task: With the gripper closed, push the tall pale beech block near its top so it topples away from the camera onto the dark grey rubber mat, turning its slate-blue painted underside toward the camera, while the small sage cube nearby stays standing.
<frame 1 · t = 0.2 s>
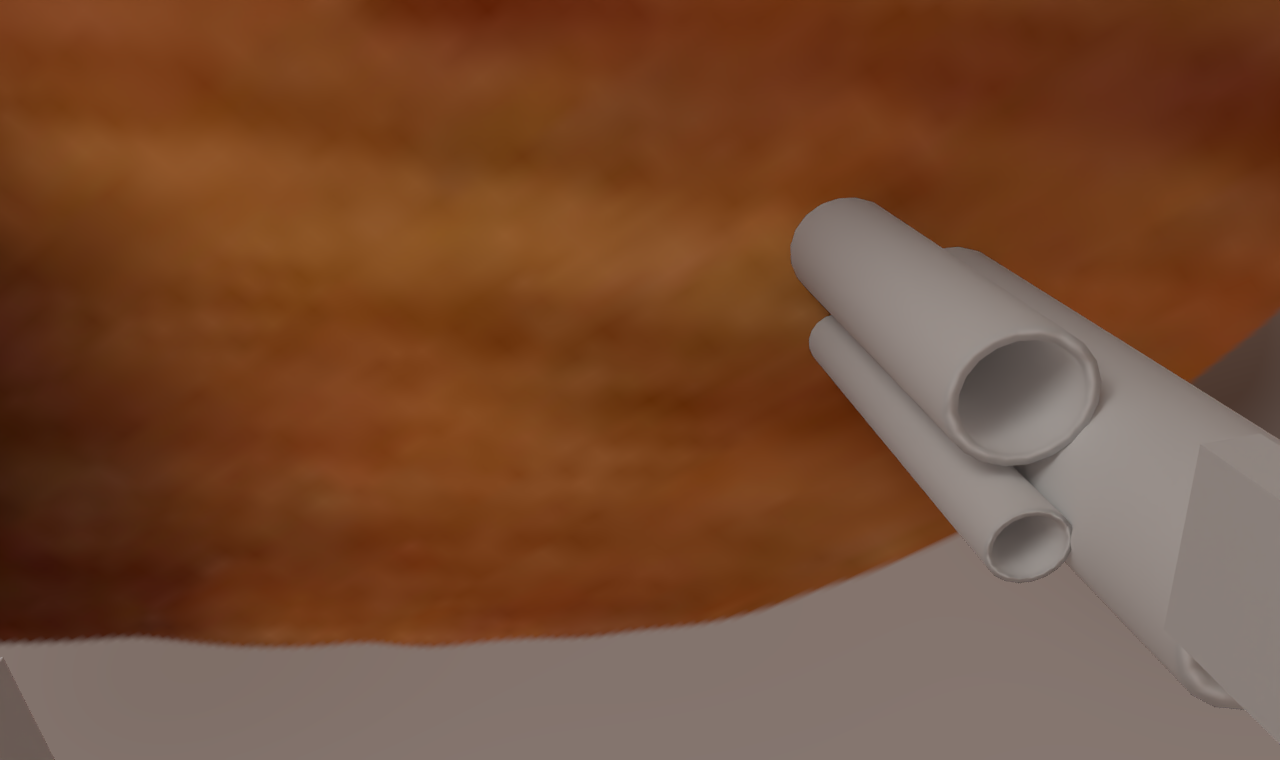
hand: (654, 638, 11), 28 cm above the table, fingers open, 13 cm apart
vase: (890, 303, 41), on the table
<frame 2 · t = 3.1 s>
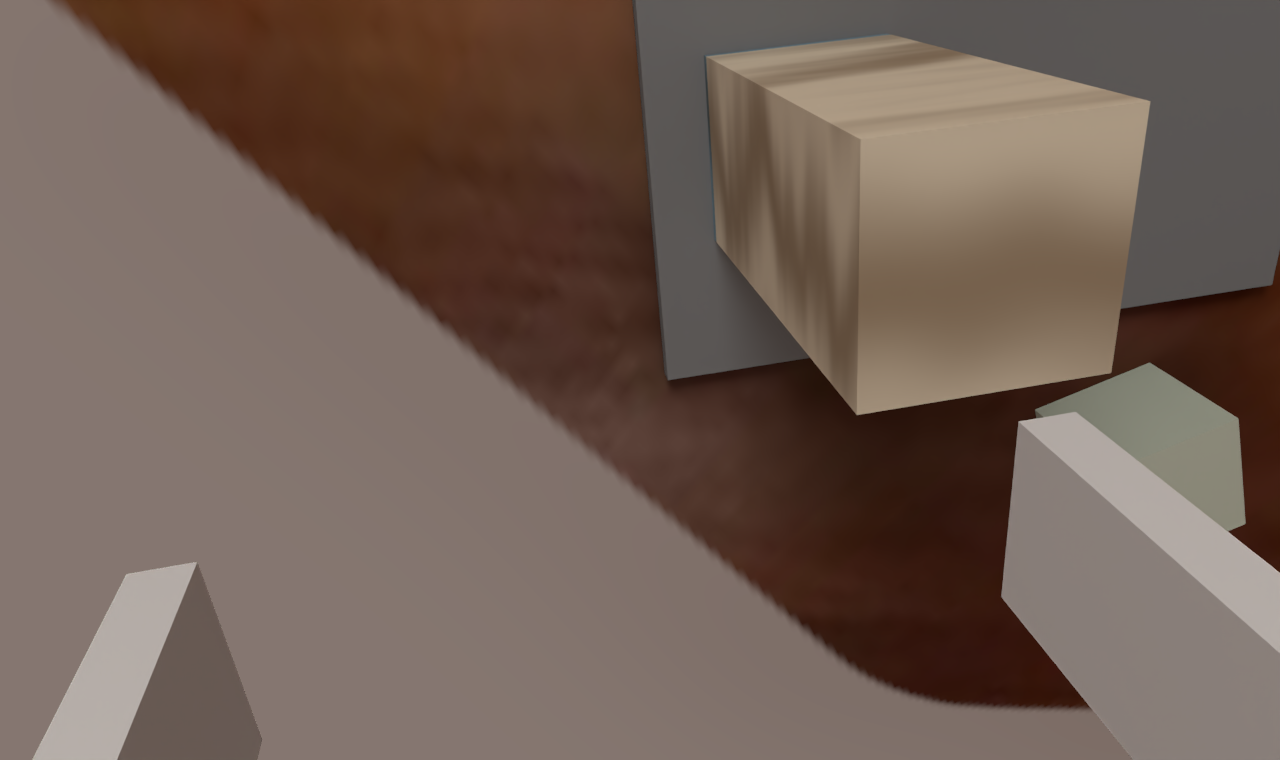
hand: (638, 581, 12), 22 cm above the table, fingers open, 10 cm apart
rubber mat: (989, 110, 33), on the table
beech block: (798, 139, 31), point 1 cm above the table, touching rubber mat
sage cube: (1098, 434, 40), on the table
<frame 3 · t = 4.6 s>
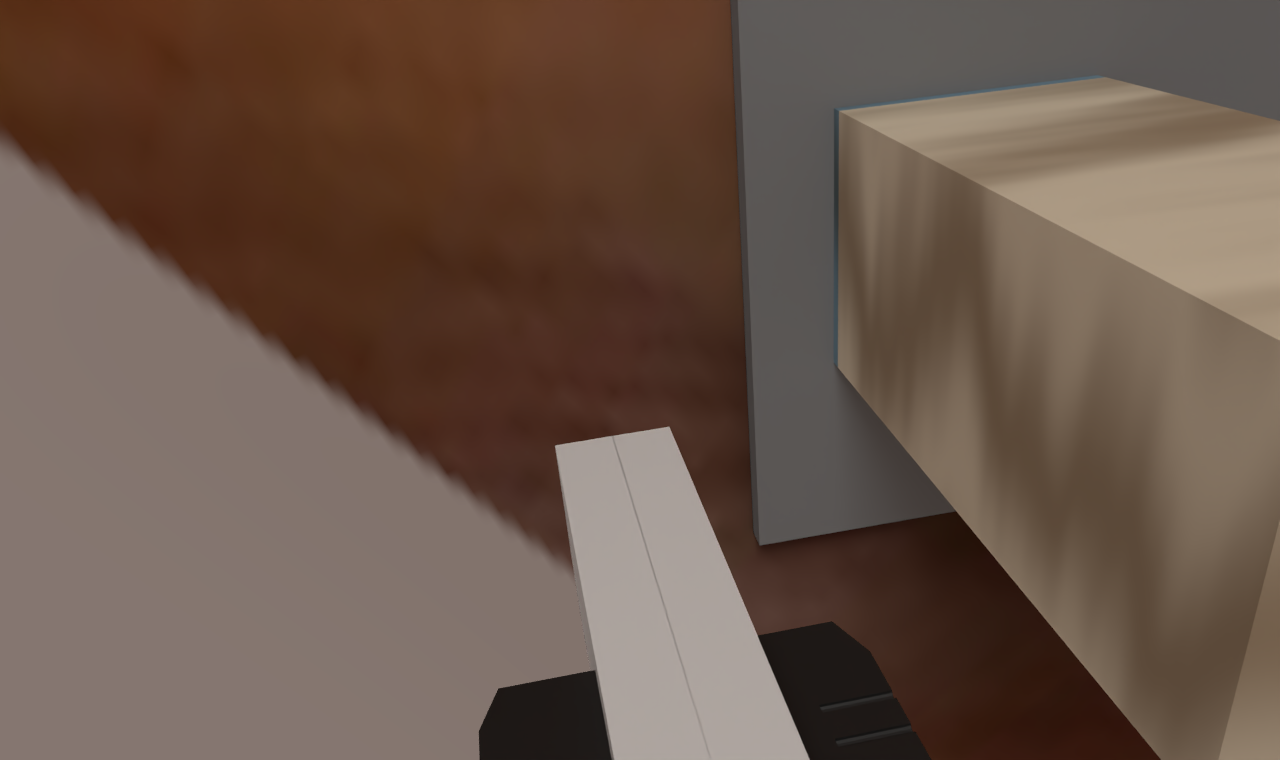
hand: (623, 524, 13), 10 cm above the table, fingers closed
rubber mat: (1221, 179, 23), on the table
beech block: (959, 225, 22), point 1 cm above the table, touching rubber mat
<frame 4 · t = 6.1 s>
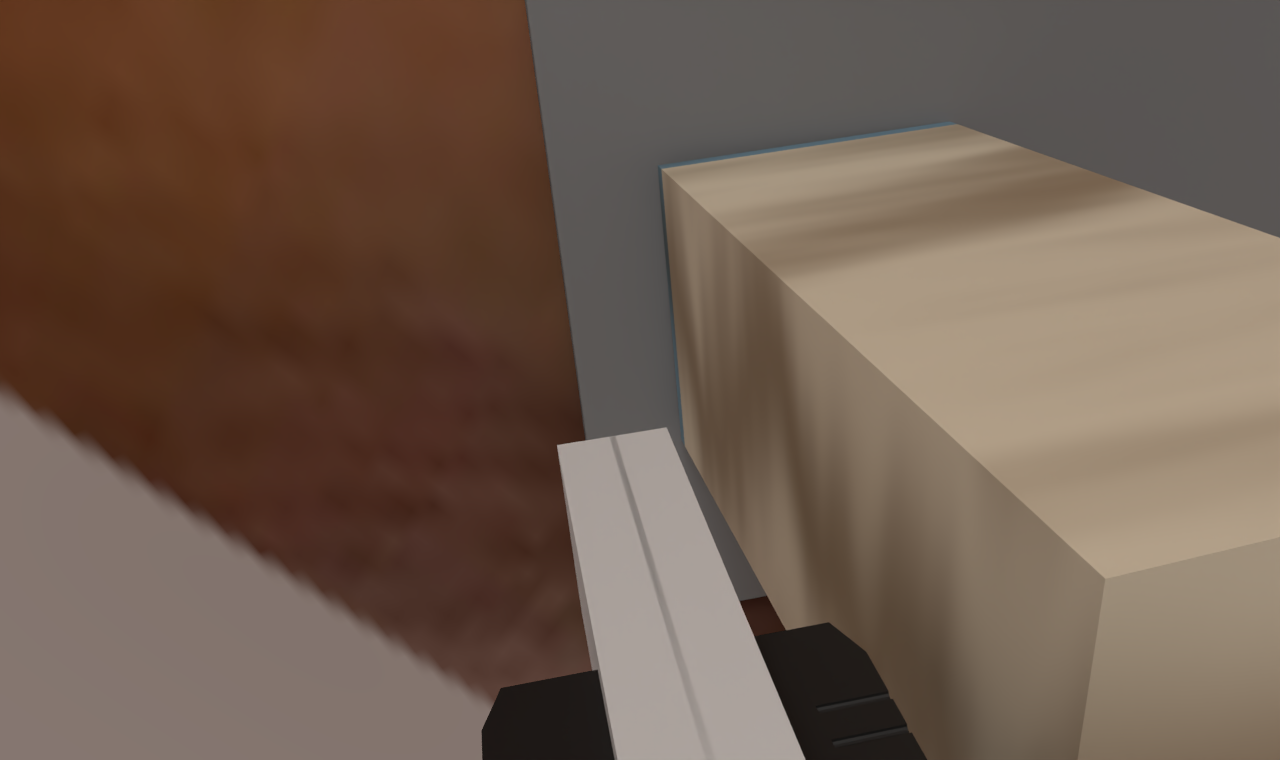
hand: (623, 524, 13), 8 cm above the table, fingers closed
rubber mat: (1101, 229, 21), on the table
beech block: (809, 287, 20), point 1 cm above the table, touching gripper, rubber mat
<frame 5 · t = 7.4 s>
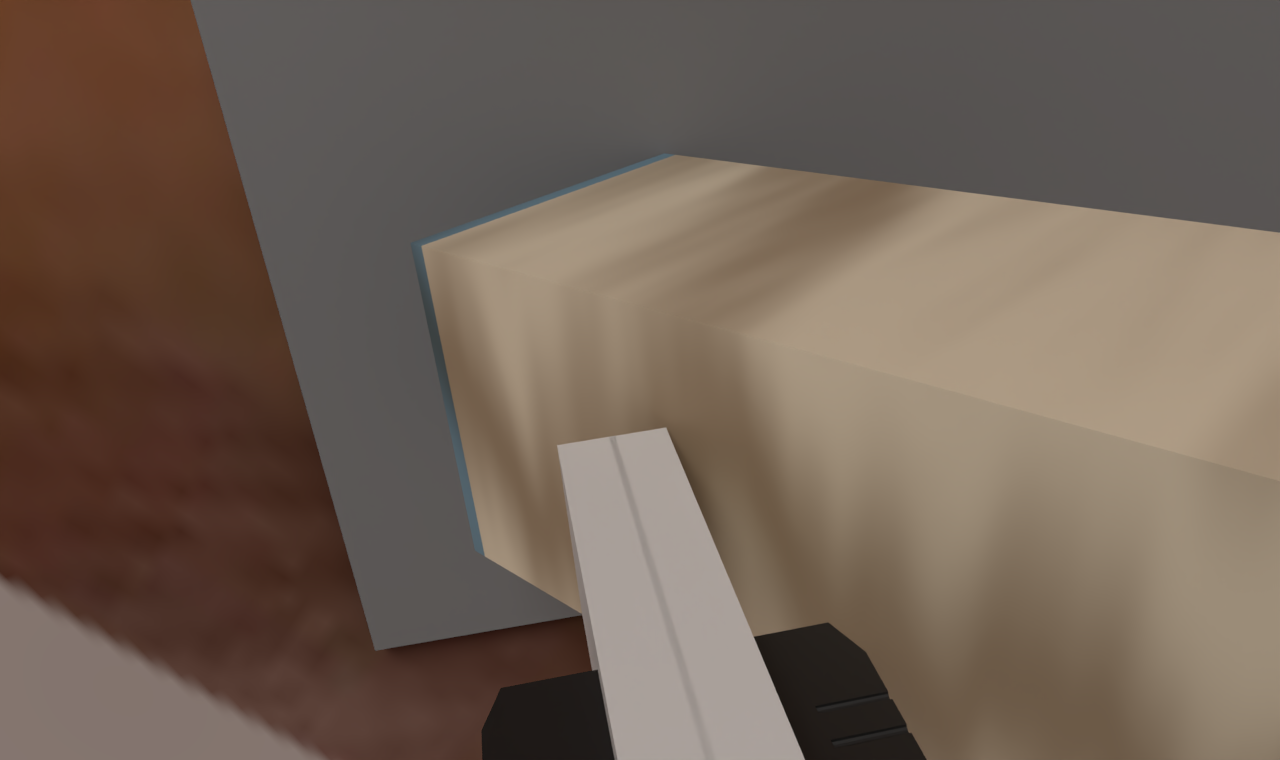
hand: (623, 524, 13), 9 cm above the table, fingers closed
rubber mat: (849, 259, 21), on the table
beech block: (572, 346, 18), point 2 cm above the table, tilted 38°, touching gripper, rubber mat
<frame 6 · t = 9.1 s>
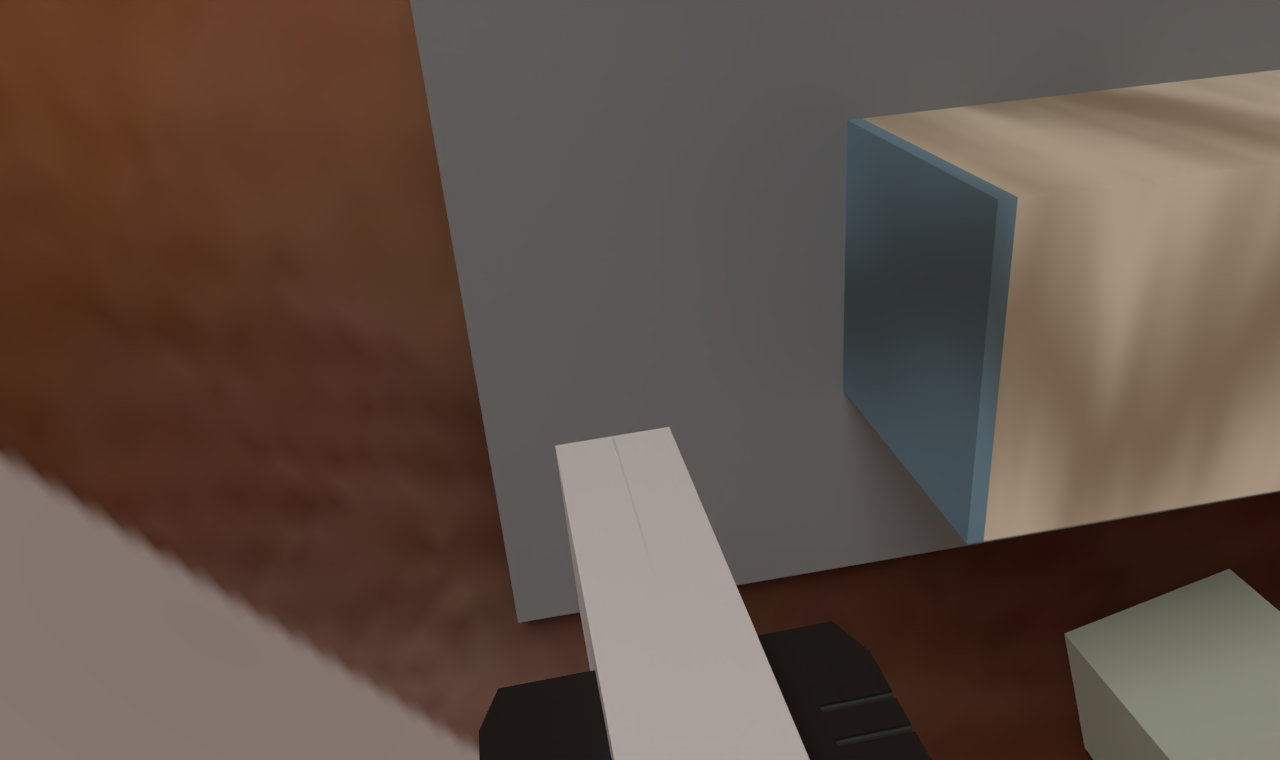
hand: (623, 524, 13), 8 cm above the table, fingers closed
rubber mat: (1007, 231, 21), on the table
beech block: (902, 316, 18), point 4 cm above the table, tilted 90°, touching rubber mat
sage cube: (1152, 660, 28), on the table
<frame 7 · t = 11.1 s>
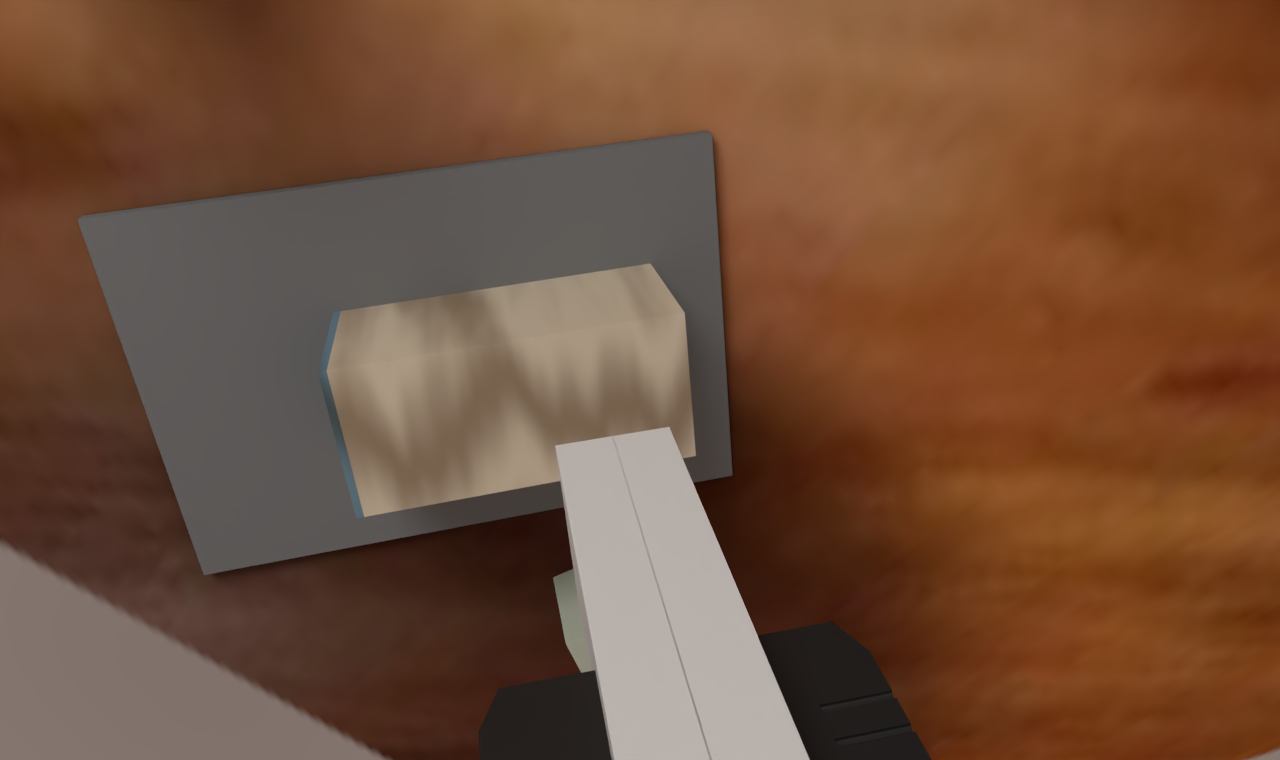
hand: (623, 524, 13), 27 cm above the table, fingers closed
rubber mat: (446, 358, 41), on the table
beech block: (344, 411, 37), point 4 cm above the table, tilted 90°, touching rubber mat
sage cube: (618, 593, 48), on the table
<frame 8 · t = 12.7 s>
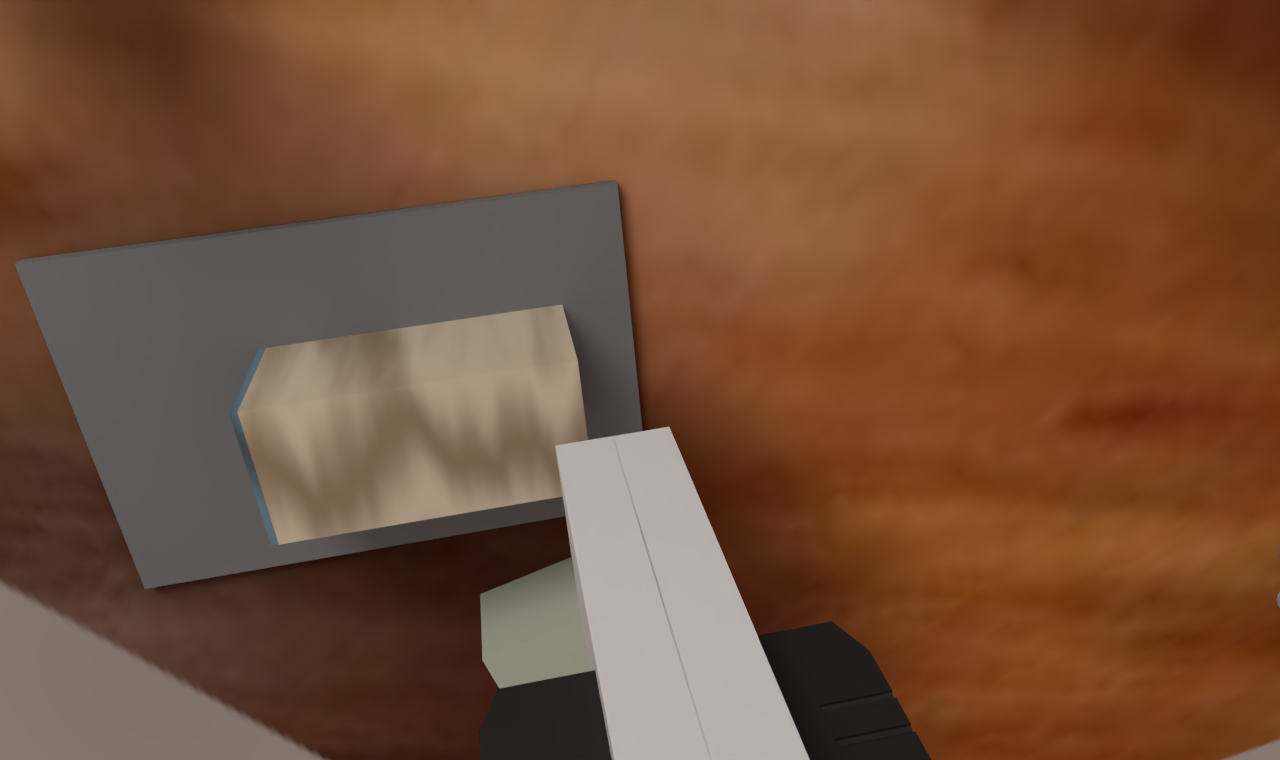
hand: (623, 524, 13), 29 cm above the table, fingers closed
rubber mat: (370, 390, 43), on the table
beech block: (264, 444, 39), point 4 cm above the table, tilted 90°, touching rubber mat
sage cube: (544, 609, 50), on the table
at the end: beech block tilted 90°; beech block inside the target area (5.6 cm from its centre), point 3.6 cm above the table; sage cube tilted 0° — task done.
